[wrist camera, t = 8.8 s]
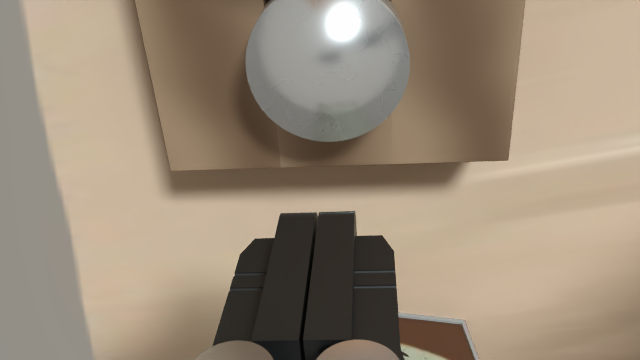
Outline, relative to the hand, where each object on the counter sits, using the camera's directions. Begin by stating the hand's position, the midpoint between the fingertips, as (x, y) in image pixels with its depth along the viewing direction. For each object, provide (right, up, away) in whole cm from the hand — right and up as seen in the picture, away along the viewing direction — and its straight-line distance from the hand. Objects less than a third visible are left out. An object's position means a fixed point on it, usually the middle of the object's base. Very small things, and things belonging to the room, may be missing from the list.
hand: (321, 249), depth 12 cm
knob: (+1, +8, +13) cm, 16 cm away
